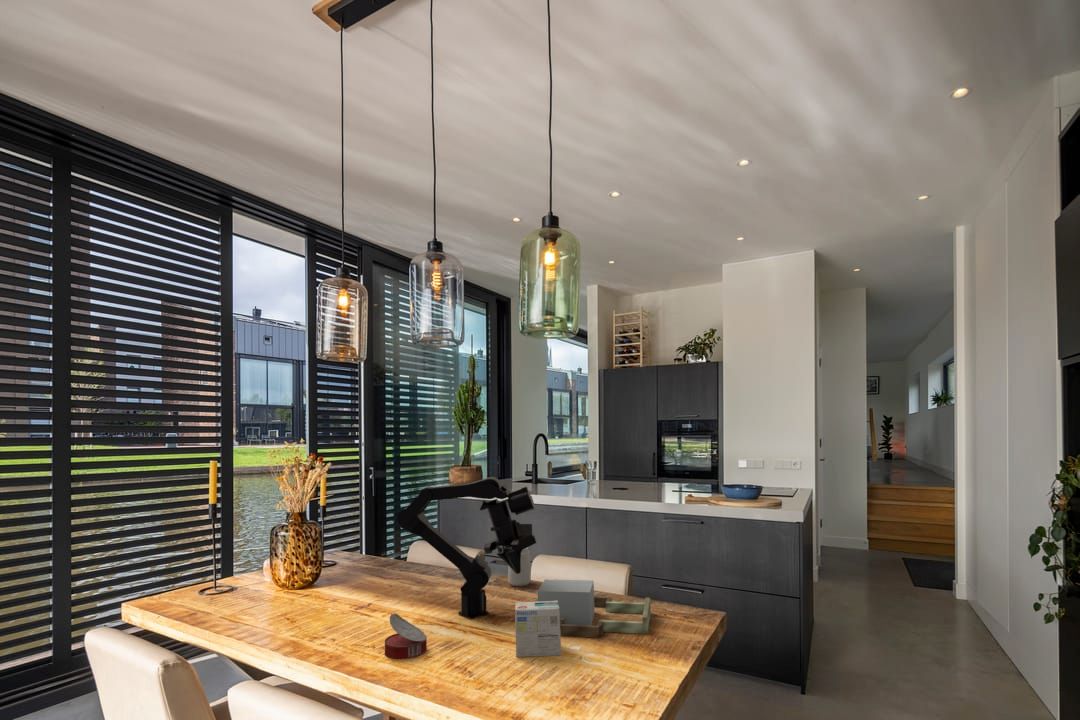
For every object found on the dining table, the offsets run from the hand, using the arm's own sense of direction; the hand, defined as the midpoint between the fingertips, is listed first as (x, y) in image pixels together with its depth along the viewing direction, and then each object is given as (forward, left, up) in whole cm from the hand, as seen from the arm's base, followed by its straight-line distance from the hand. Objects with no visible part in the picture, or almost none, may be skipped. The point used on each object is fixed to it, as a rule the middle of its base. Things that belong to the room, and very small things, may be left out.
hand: (518, 573), depth 173 cm
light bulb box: (-15, -25, -11) cm, 31 cm away
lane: (+10, -18, -11) cm, 24 cm away
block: (+6, -13, -11) cm, 18 cm away
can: (+21, +24, -11) cm, 34 cm away
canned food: (-37, -2, -11) cm, 39 cm away
